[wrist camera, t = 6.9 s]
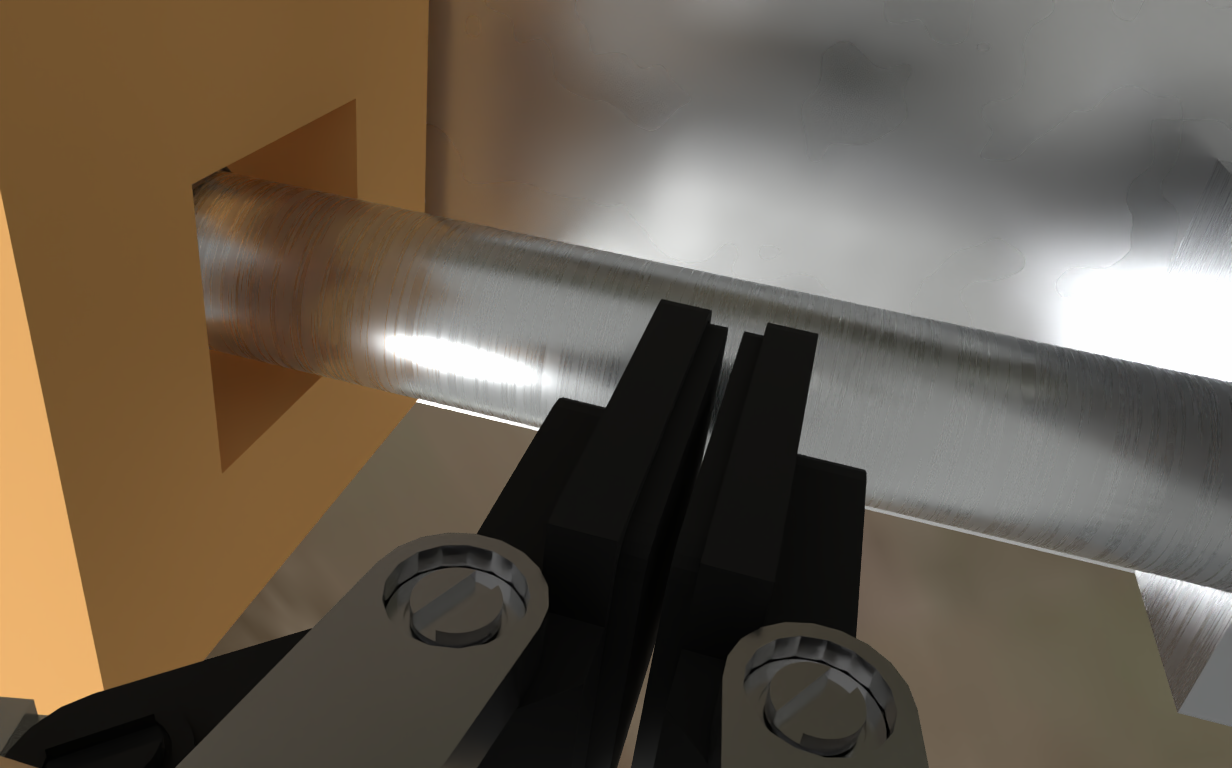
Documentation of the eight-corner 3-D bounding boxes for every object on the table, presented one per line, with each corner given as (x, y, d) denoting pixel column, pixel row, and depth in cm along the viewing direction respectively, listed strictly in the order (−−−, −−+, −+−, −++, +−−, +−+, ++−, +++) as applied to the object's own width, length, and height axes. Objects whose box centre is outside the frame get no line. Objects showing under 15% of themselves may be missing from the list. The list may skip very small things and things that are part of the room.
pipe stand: (1410, -15, 14) (1843, 134, 8) (1142, 529, 20) (1265, 896, 13) (103, -212, 18) (-381, -225, 11) (167, 302, 23) (-136, 505, 16)
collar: (431, -113, 15) (-48, -37, 7) (421, 396, 20) (119, 762, 12) (248, -142, 16) (-378, -98, 8) (279, 362, 20) (-97, 696, 13)
